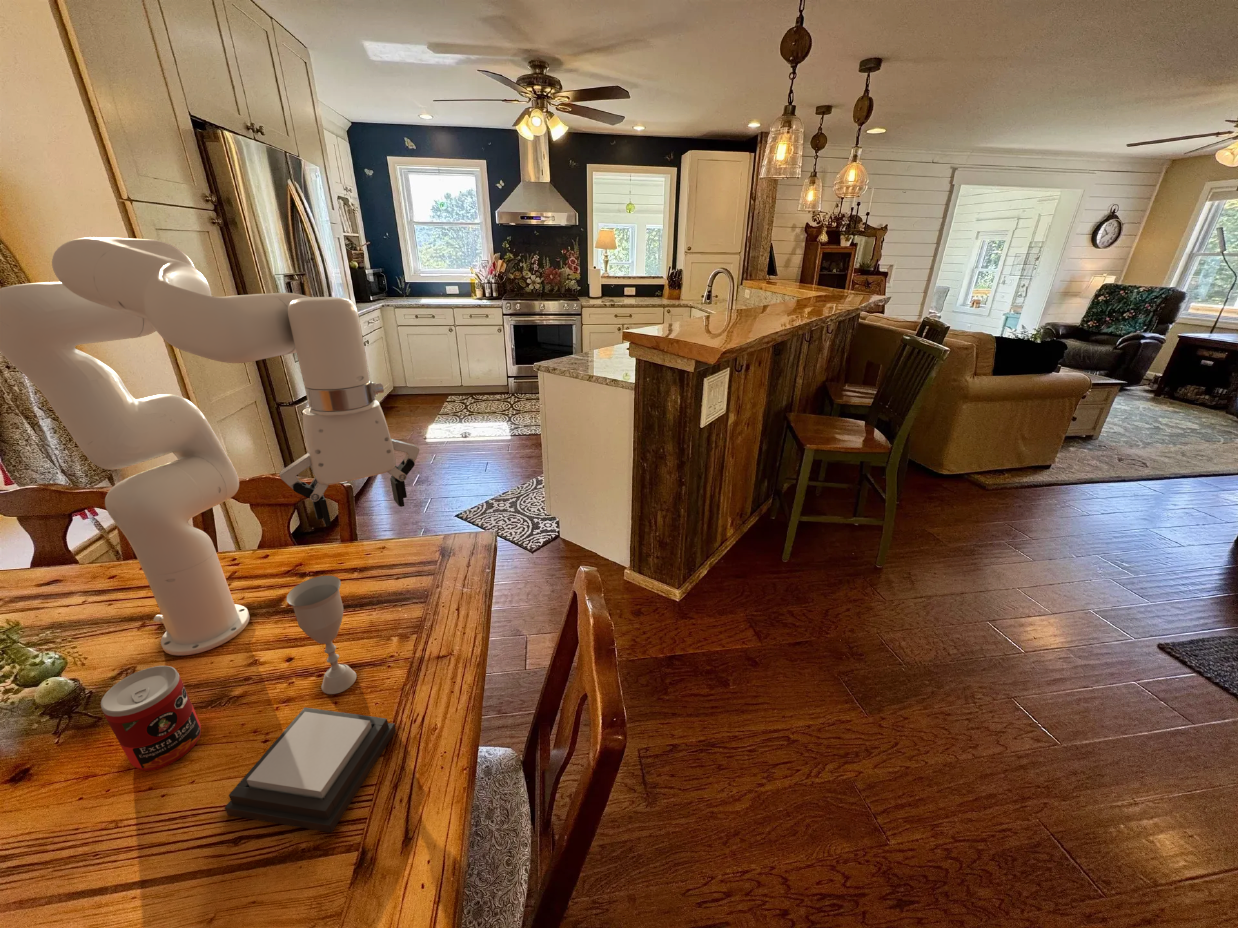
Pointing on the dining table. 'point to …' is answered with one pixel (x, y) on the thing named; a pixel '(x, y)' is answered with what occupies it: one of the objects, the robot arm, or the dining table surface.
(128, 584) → the dining table surface
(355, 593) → the dining table surface
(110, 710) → the canned food
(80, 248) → the robot arm
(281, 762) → the pan
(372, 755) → the scale
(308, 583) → the chalice
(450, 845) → the dining table surface
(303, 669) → the dining table surface
